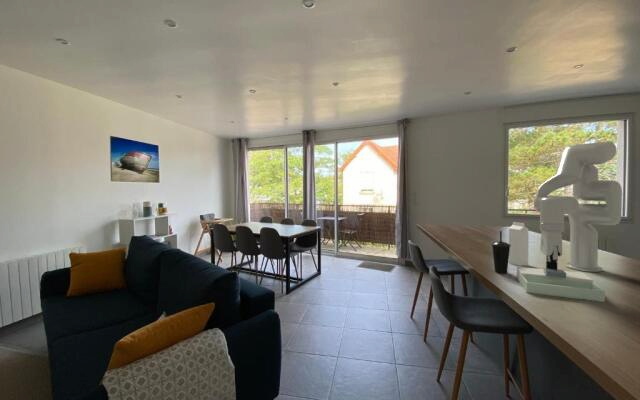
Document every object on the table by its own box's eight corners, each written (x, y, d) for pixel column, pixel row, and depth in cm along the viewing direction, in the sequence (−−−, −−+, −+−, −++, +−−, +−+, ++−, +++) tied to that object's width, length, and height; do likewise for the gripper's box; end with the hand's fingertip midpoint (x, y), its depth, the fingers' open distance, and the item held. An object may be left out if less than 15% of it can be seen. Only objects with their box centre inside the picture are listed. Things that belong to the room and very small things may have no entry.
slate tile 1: (543, 273, 109) (543, 268, 109) (562, 274, 106) (562, 270, 106) (546, 276, 105) (546, 271, 105) (566, 278, 102) (566, 273, 102)
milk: (520, 266, 134) (520, 223, 133) (508, 263, 140) (508, 222, 139) (528, 264, 136) (528, 222, 135) (517, 261, 142) (516, 221, 141)
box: (521, 285, 110) (521, 275, 110) (593, 292, 100) (593, 282, 100) (526, 292, 102) (526, 282, 102) (604, 302, 92) (604, 290, 92)
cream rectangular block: (516, 277, 118) (516, 267, 118) (582, 284, 108) (582, 272, 108) (521, 284, 110) (521, 273, 110) (592, 292, 100) (592, 279, 100)
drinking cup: (514, 274, 122) (513, 232, 121) (495, 274, 124) (495, 232, 123) (505, 269, 130) (505, 229, 129) (488, 269, 131) (488, 229, 130)
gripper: (535, 224, 116) (535, 265, 117) (545, 229, 103) (545, 275, 104) (557, 225, 113) (557, 267, 114) (571, 230, 100) (570, 278, 101)
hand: (551, 271), depth 109 cm, fingers closed
